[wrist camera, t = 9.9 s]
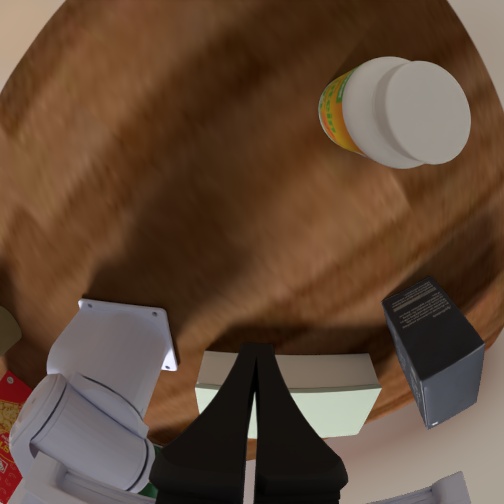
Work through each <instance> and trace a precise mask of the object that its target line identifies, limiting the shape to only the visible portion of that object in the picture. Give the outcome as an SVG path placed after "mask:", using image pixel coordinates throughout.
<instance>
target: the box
mask: <svg viewBox="0 0 504 504" xmlns="http://www.w3.org/2000/svg"><path fill="white" fill-rule="evenodd" d="M381 303H382V306H383V309H384V312H385V314H384V315H385V317H386V323H387V324H388V328H389V330H390V334H391V336H392V340H393V343H394V346H395V349H396V354H397V356H398V360H399V363H400V365H401V367H402V369H403V372H404V374H405V377H406V379H407V381H408V384H409V386H410V388H411V391H412V393H413V396H414V398H415V400H416V403H417V405H418V408H419V411H420V413H421V416H422V418H423V421H424V423H425V426H426V428H427V429H431V428H433V427H435V426H437V425H439V424H440V423H442V422H444V421H446V420H448V419H449V418H451V417H453V416H455V415H456V414H458V413H460V412H461V411H463V410H465V409H467V408H468V407H470V406H471V405H473V404H474V403H476V401H477V396H478V391H479V385H480V380H481V373H482V367H483V360H484V351H485V342H484V341H483V340H482V339H481V337H480V336H479V334H478V333H477V332H476V330H475V329H474V328H473V326H472V325H471V324H470V323H469V321H468V320H467V319H466V317H465V316H464V315H463V313H462V312H461V311H460V310H459V308H458V307H457V306H456V305H455V304H454V302H453V301H452V300H451V299H450V297H449V296H448V295H447V294H446V292H445V291H444V290H443V289H442V288H441V286H440V285H439V284H438V283H437V282H436V281H435V279H434V278H433V277H432V276H430V277H428V278H426V279H424V280H422V281H420V282H417V283H416V284H414V285H413V286H411V287H409V288H407V289H405V290H404V291H402V292H400V293H398V294H396V295H394V296H392V297H390V298H387V299H385V300H383V301H382V302H381Z"/></svg>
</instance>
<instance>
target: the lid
mask: <svg viewBox="0 0 504 504" xmlns="http://www.w3.org/2000/svg"><path fill="white" fill-rule="evenodd" d="M220 387H221V386H217V385H207V384H198V383H196V385H195V391H196V396H197V402H198V407H199V412H200V414H201V413H202V411H203V410H204V409H205V408H206V407H207V406H208V404H209V403H210V402H211V400H212V399H213V398H214V396H215V395H216V394H217V392H218V391H219V389H220ZM381 389H382V387H381V385H380V384H376V385H366V386H354V387H339V388H315V389H288V390H289V392H290V394H291V396H292V397H293V399H294V401H295V403H296V404H297V406H298V408H299V409H300V411H301V412H302V414H303V415H304V417H305V418H306V420H307V421H308V423H309V424H310V425H311V426H312V428H313V429H314V430H315V431H316V433H317V434H318V435H319V436H320V437H321V438H323V437H335V436H347V435H356V434H358V432H359V431H360V429H361V427H362V425H363V423H364V422H365V420H366V418H367V416H368V414H369V412H370V410H371V409H372V407H373V405H374V403H375V401H376V399H377V397H378V395H379V393H380V391H381ZM248 438H257V422H256V402H255V395H254V401H253V407H252V413H251V419H250V425H249V431H248Z"/></svg>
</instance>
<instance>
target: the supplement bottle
mask: <svg viewBox="0 0 504 504" xmlns="http://www.w3.org/2000/svg"><path fill="white" fill-rule="evenodd" d="M319 118H320V122H321V125H322V127H323V129H324V131H325V132H326V134H327V135H328V136H329V138H330V139H331V140H332V141H333V142H335V143H336V144H337V145H339V146H341V147H342V148H344V149H347V150H349V151H352V152H354V153H357V154H359V155H362V156H364V157H367V158H369V159H371V160H374V161H375V162H378V163H380V164H383V165H385V166H389V167H393V168H400V169H405V168H413V167H417V166H420V165H422V164H424V163H427V164H442V163H445V162H448V161H450V160H452V159H453V158H455V157H456V156H457V155H458V154H459V153H460V152H461V150H462V149H463V148H464V146H465V144H466V142H467V140H468V136H469V132H470V124H471V117H470V109H469V105H468V101H467V99H466V96H465V94H464V92H463V90H462V88H461V86H460V85H459V83H458V82H457V81H456V80H455V78H454V77H453V76H452V75H451V74H450V73H448V72H447V71H446V70H445V69H443V68H442V67H440V66H438V65H436V64H433V63H430V62H426V61H413V62H411V61H409V60H406V59H403V58H399V57H380V58H375V59H372V60H369V61H367V62H365V63H363V64H361V65H360V66H358V67H356V68H354V69H353V70H351V71H349V72H347V73H345V74H344V75H342V76H340V77H338V78H336V79H335V80H333V81H332V82H331V83H330V84H329V85H328V86H327V87H326V88H325V90H324V91H323V93H322V95H321V98H320V102H319Z"/></svg>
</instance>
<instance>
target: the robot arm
mask: <svg viewBox="0 0 504 504" xmlns="http://www.w3.org/2000/svg"><path fill="white" fill-rule="evenodd" d="M78 303H79V306H80V310H79V311H78V313H77V314H76V315H75V316H74V318H73V319H72V320H71V321H70V323H69V324H68V325H67V326H66V328H65V329H64V330H63V332H62V333H61V334H60V336H59V337H58V338H57V340H56V341H55V342H54V344H53V345H52V347H51V349H50V352H49V355H48V360H47V374H48V375H47V376H46V377H45V378H44V379H43V380H42V381H41V382H40V383H39V384H38V385H37V387H36V388H35V389H34V390H33V392H32V393H31V395H30V396H29V398H28V399H27V401H26V402H25V404H24V406H23V407H22V409H21V411H20V413H19V416H18V418H17V420H16V421H15V423H14V424H13V426H12V428H11V431H10V435H9V449H10V453H11V455H12V457H13V459H14V461H15V463H16V465H17V467H18V469H19V471H20V473H21V475H22V477H23V478H22V480H21V482H20V483H19V485H18V486H17V488H16V490H15V491H14V493H13V494H12V496H11V498H10V499H9V501H8V503H7V504H243V498H244V483H245V468H246V453H247V439H248V431H249V425H250V419H251V413H252V407H253V401H254V395H255V402H256V422H257V450H256V469H255V485H254V503H253V504H339V499H340V490H341V489H342V488H343V487H344V486H345V485H346V484H347V483H348V475H347V472H346V469H345V466H344V464H343V461H342V459H341V458H340V457H339V456H338V455H337V454H336V453H335V452H334V451H333V450H332V449H331V448H330V447H329V446H328V445H327V444H326V443H325V442H324V441H323V440H322V439H321V437H320V436H319V435H318V434H317V433H316V431H315V430H314V429H313V428H312V426H311V425H310V424H309V423H308V421H307V420H306V418H305V417H304V415H303V414H302V412H301V411H300V409H299V408H298V406H297V404H296V403H295V401H294V399H293V397H292V396H291V394H290V392H289V390H288V388H287V386H286V383H285V381H284V379H283V376H282V374H281V372H280V369H279V366H278V363H277V360H276V357H275V353H274V347H273V345H272V344H265V343H242V344H241V347H240V350H239V353H238V356H237V358H236V360H235V362H234V365H233V367H232V368H231V370H230V372H229V374H228V376H227V378H226V380H225V381H224V383H223V384H222V386H221V387H220V389H219V391H218V392H217V394H216V395H215V396H214V398H213V399H212V400H211V402H210V403H209V404H208V406H207V407H206V408H205V409H204V410H203V411H202V413H201V414H200V415H199V416H198V417H197V418H196V419H195V420H194V421H193V422H192V423H191V424H190V425H189V426H188V427H187V428H186V429H185V430H184V431H183V432H182V433H181V434H179V435H178V436H177V437H176V438H175V439H173V440H172V441H171V442H169V443H168V444H167V445H166V446H164V447H163V448H162V449H160V451H159V452H158V454H157V456H156V458H155V451H154V447H153V444H152V443H151V442H150V440H149V439H147V438H146V436H147V433H148V430H149V427H148V426H147V425H145V424H144V423H143V419H144V416H145V413H146V410H147V407H148V405H149V402H150V399H151V396H152V393H153V390H154V388H155V385H156V382H157V379H158V377H159V374H160V371H161V369H163V370H170V371H176V370H177V368H178V365H177V361H176V357H175V352H174V348H173V343H172V338H171V334H170V329H169V324H168V318H167V313H166V311H165V310H164V309H162V308H155V307H146V306H137V305H128V304H119V303H111V302H104V301H96V300H89V299H80V300H79V302H78ZM90 304H91V305H90ZM154 312H156V313H157V314H155V313H154ZM149 481H150V482H151V483H152V484H153V485H154V487H155V488H156V489H157V490H158V493H157V497H156V499H154V498H150V497H147V496H143V495H139V494H137V493H138V492H139V491H141V490H142V489H143V488H144V487H145V486H146V485H147V483H148V482H149ZM367 504H471V501H470V497H469V494H468V490H467V487H466V483H465V480H464V476H463V473H462V471H459V472H457V473H455V474H452V475H450V476H447V477H445V478H442V479H440V480H438V481H437V482H435V483H434V484H432V486H429V487H426V488H423V489H421V490H417V491H414V492H411V493H408V494H404V495H401V496H397V497H393V498H389V499H385V500H382V501H376V502H372V503H367Z"/></svg>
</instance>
